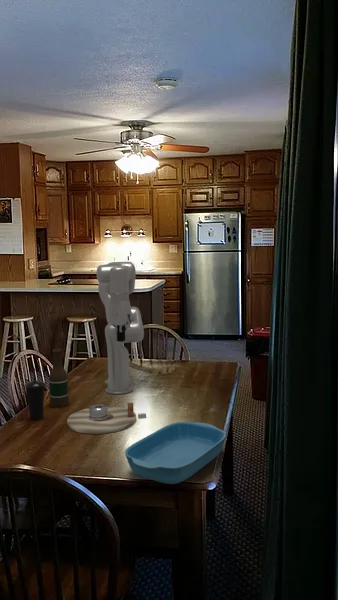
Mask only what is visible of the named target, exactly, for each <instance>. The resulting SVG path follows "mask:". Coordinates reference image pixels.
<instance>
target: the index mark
mask: <svg viewBox="0 0 338 600" xmlns="http://www.w3.org/2000/svg"><path fill="white" fill-rule="evenodd" d="M137 418H138V419H147V413H146V412H143V413H137Z"/></svg>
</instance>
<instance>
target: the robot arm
mask: <svg viewBox="0 0 338 600" xmlns="http://www.w3.org/2000/svg"><path fill="white" fill-rule="evenodd" d="M136 271H137V270H136V266H135V264H134V263H133V262H132V261H111V262H108V263H106V264H100V265H98V266H97V268H96V279H97V281H98V288H97V289H98V294H99V298H100V300H101V303H102V304H103V306H104V309H105V316H106V322H107V325H105V328H104V336H105V342H106V347H107V349H106V350H107V369H108V370H107V371H108V373H107V374H108V378H107V379H106V380H104V383H105V384H106V385H107V387H106V388H105V392H106V393H107V394H111V395H125V394H129V393H132V392H133V391H134V386H133V385H131V382H130V355H129V350H128V348H127V347H126V346H125V345H124V344H126V343H127V344H129V343H140V342H141V341H143V339H144V337H145V331H144V326H143V325H144V324H143V319H142V315H141V311H140V309H139V308H138V307H137V306H131V302H130V301H131V300H130V294H132V293H133V294H134V292H135V287H136V286H135V285H136V277H137V276H136V274H137V273H136Z"/></svg>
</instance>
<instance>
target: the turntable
mask: <svg viewBox="0 0 338 600" xmlns="http://www.w3.org/2000/svg"><path fill="white" fill-rule="evenodd" d="M107 406H108V414H109V418H108V419H106V420H102V421H92V420H90V419H89V407H88V408H84V409H81V410H78V411H75V412H73V413H72V414H70V415H69V416H68V417H67V420H66V421H67V427H68V428H69V429H70V430H72V431H74V432H77V433H81V434H87V435H88V434H89V435H102V434H111V433H116V432H120V431H124V430H126V429H129V428H131V427H132V426H134V424H136V422H137V415H136V412H135V411H134V402H132V401H131V402H127V408H126V407H122V406H113V405H112V406H109V405H107Z"/></svg>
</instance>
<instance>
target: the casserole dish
mask: <svg viewBox="0 0 338 600" xmlns="http://www.w3.org/2000/svg"><path fill="white" fill-rule="evenodd" d="M226 437H227V433H226V432H225V431H224V430H222V429H220V428H218V427H216V426H215V425H214V424H212V423H211V424H210V423H206V422H198V421H197V422H189V421H178V422H173V423H169V424H167V425H164V426H163V427H161V428H159V429H158V430H156V431H154V432H152V433H150V434H148V435H147V436H145V437H143V438H142V439H139V440H138V441H136V442H135V443H133V444H131V445H130V446H128V447H127V448H126V449H125V451H124V455H125V458H126V461H127V463H128V465H129V467H130V469H131V471H132V472H133V473H134V474H136V475H137V476H139V477H141V476H142V478H144V477H145V478H144V479H147V478H148V480H152V481H155V482H158V483H161V484H164V485H165V484H166V485H176V484H180V483H182V482H185V481H186V480H188V479H190V478H191V477H192V476H193V475H195V474H196V473H197V472H198V471H200V470H201V469H203V468H204V467H205V466H207V465H208V464H209V463H210V462H212V461H213V460H214V459H215V458H216V457H218V456H219V454H220V453H221V451H222V449H223V447H224V444H225V440H226Z"/></svg>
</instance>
